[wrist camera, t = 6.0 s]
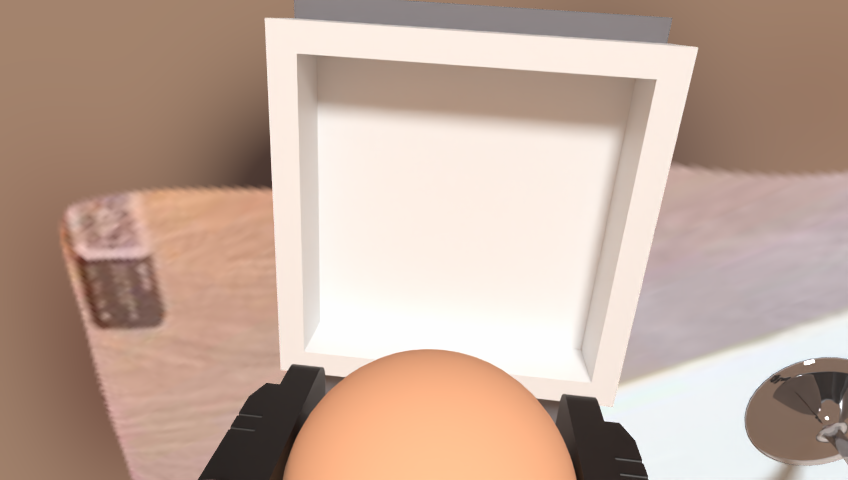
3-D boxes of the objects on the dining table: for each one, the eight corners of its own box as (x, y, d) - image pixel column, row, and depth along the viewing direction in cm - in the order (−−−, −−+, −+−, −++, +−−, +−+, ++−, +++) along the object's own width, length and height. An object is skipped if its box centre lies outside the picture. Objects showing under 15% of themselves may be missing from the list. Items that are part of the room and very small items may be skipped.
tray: (666, 43, 23) (698, 47, 20) (597, 362, 29) (612, 407, 26) (294, 18, 24) (264, 17, 21) (302, 331, 30) (280, 369, 27)
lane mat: (669, 18, 23) (673, 17, 22) (558, 532, 34) (559, 539, 34) (296, -7, 24) (293, -7, 24) (309, 500, 35) (306, 507, 35)
